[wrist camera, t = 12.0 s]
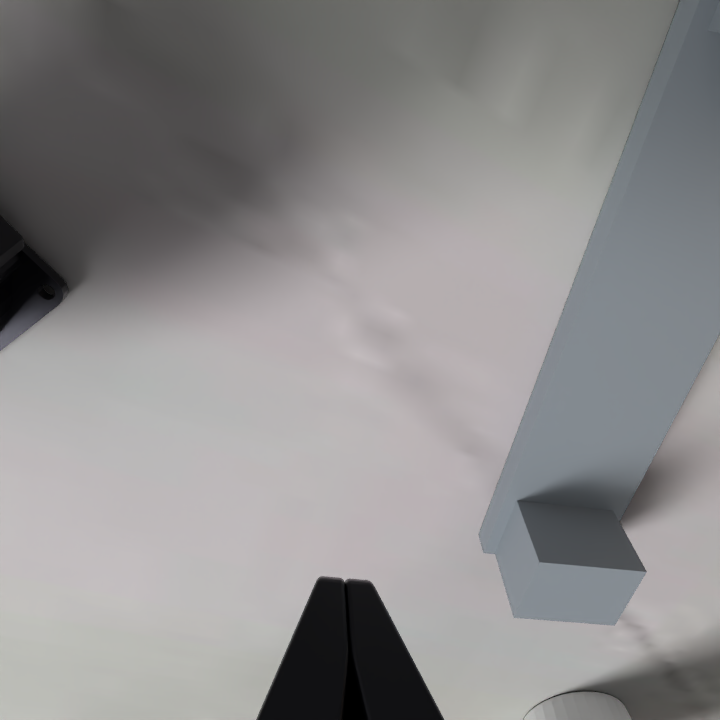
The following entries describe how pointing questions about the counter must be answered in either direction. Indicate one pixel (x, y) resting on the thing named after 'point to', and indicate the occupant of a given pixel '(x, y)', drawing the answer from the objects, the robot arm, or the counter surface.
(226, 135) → the counter surface
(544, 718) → the coffee cup
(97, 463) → the counter surface
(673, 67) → the gate frame
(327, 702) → the robot arm
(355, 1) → the counter surface
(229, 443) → the counter surface
